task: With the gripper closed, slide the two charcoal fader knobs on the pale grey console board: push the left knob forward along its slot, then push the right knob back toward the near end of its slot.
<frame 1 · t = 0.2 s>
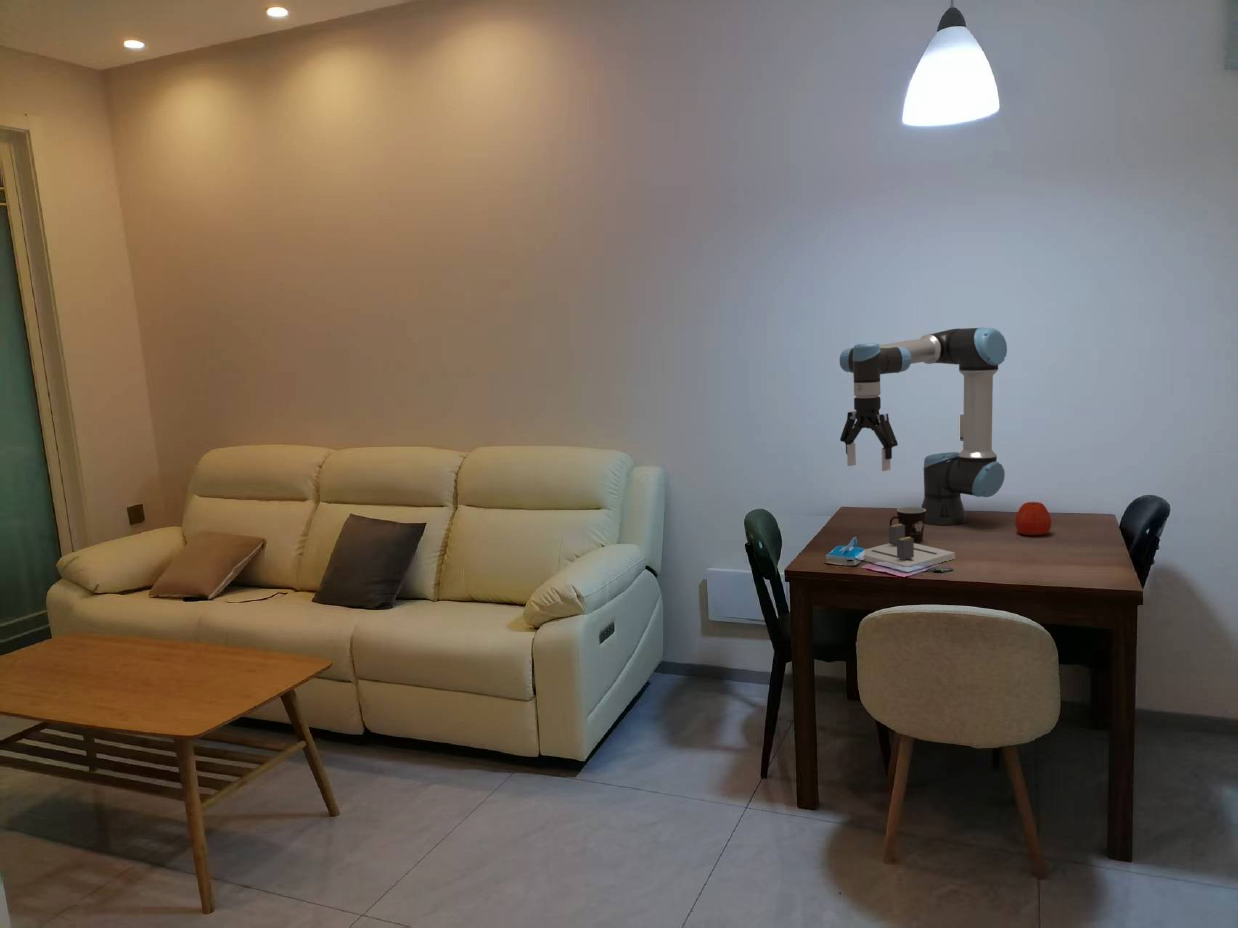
hand: (868, 467, 261), 27 cm above the table, fingers open, 13 cm apart
coffee mug: (906, 541, 277), on the table
fader B: (905, 547, 251), point 5 cm above the table, slide at 12.0 cm
apple: (1032, 534, 276), on the table
fader A: (896, 534, 266), point 5 cm above the table, slide at 0.0 cm
console: (903, 559, 258), on the table
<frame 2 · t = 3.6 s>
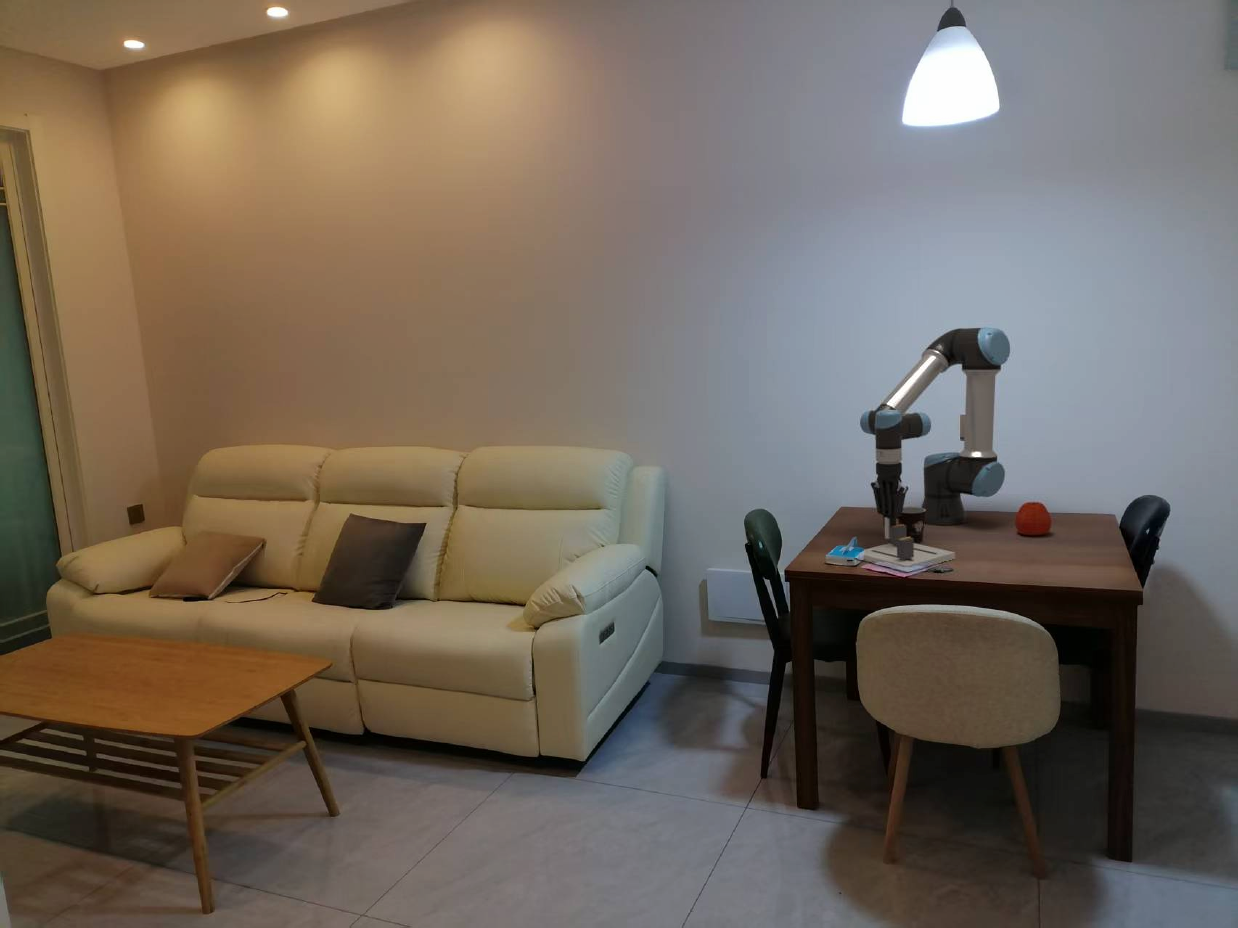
hand: (889, 537, 269), 4 cm above the table, fingers closed
fader A: (898, 534, 265), point 5 cm above the table, slide at 0.6 cm, touching gripper
everything else where it was.
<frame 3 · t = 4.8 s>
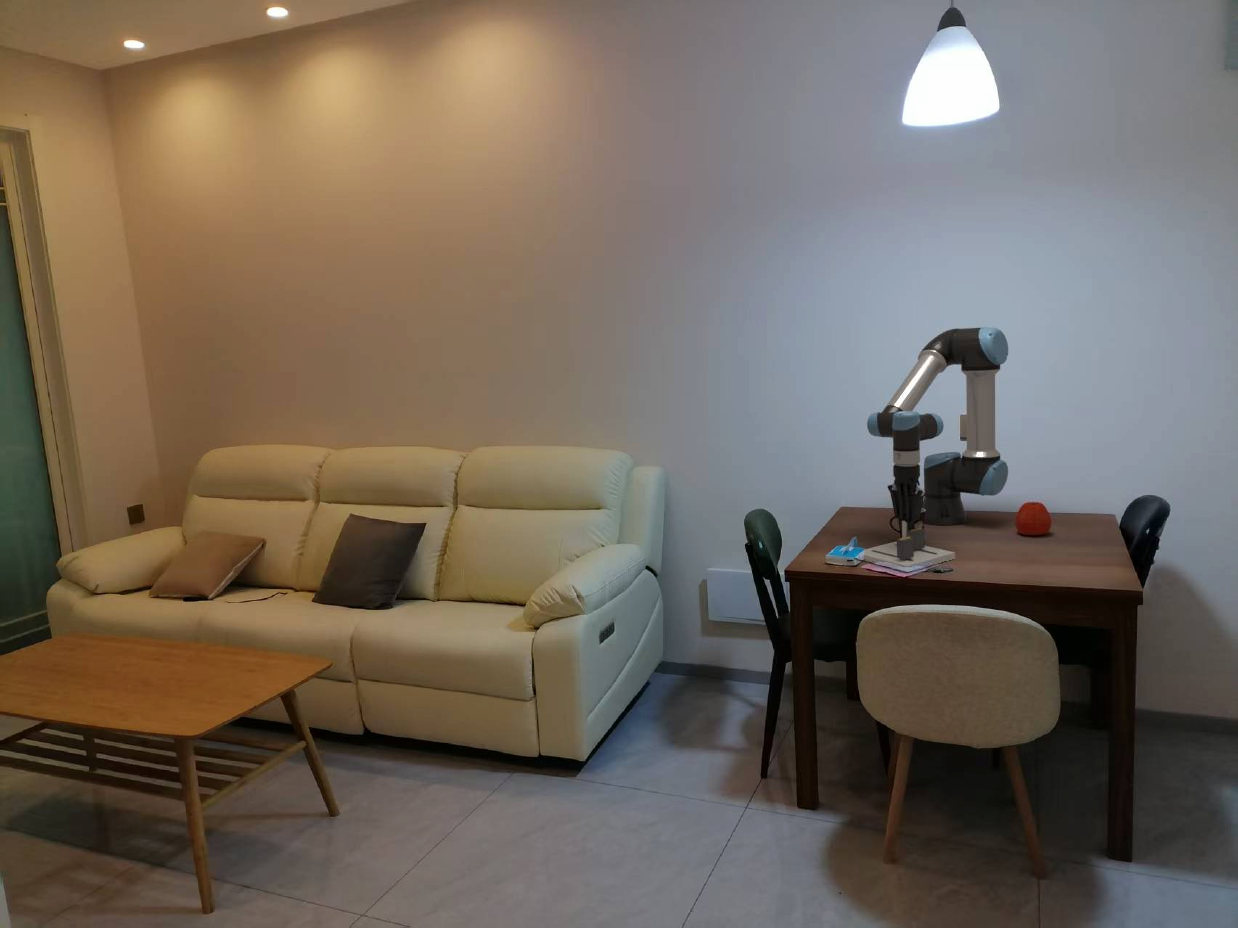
hand: (907, 541, 263), 4 cm above the table, fingers closed
fader A: (916, 538, 260), point 5 cm above the table, slide at 7.4 cm, touching gripper
everything else where it was.
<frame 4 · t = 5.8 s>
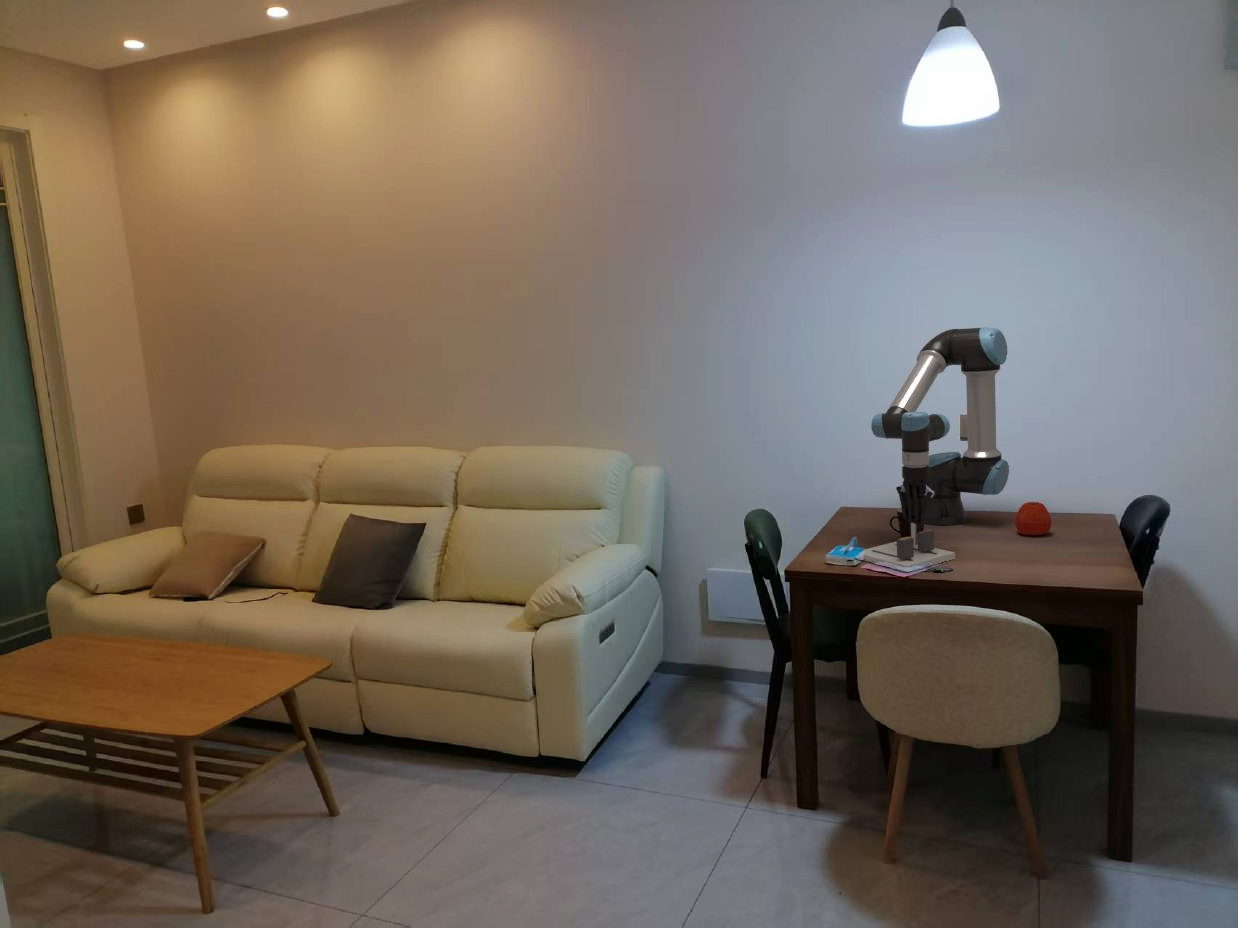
hand: (916, 543, 260), 4 cm above the table, fingers closed
fader A: (925, 540, 257), point 5 cm above the table, slide at 10.8 cm, touching gripper
everything else where it was.
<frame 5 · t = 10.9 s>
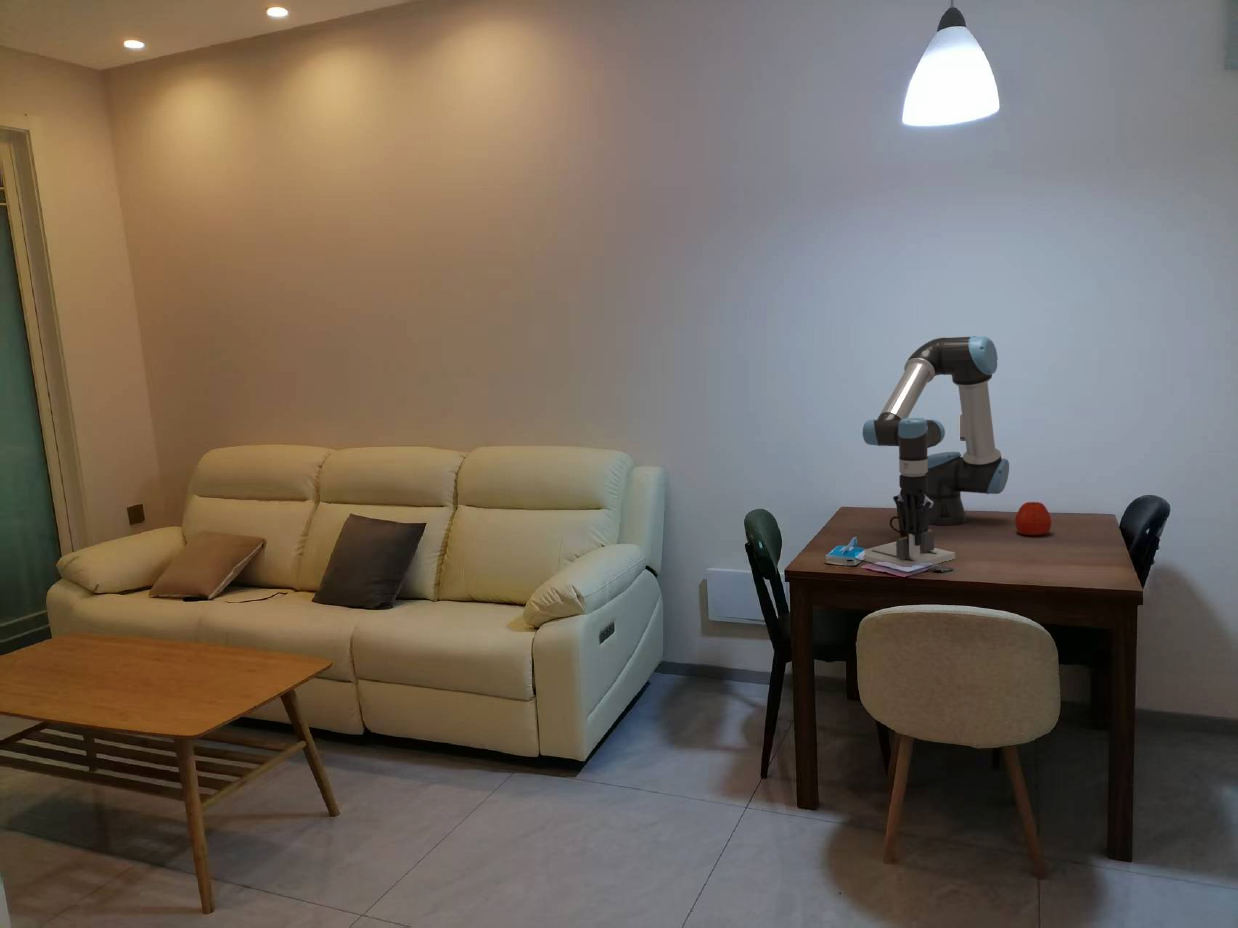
hand: (914, 555, 248), 4 cm above the table, fingers closed
fader B: (904, 547, 251), point 5 cm above the table, slide at 11.8 cm, touching gripper
fader A: (925, 540, 257), point 5 cm above the table, slide at 10.8 cm
everything else where it was.
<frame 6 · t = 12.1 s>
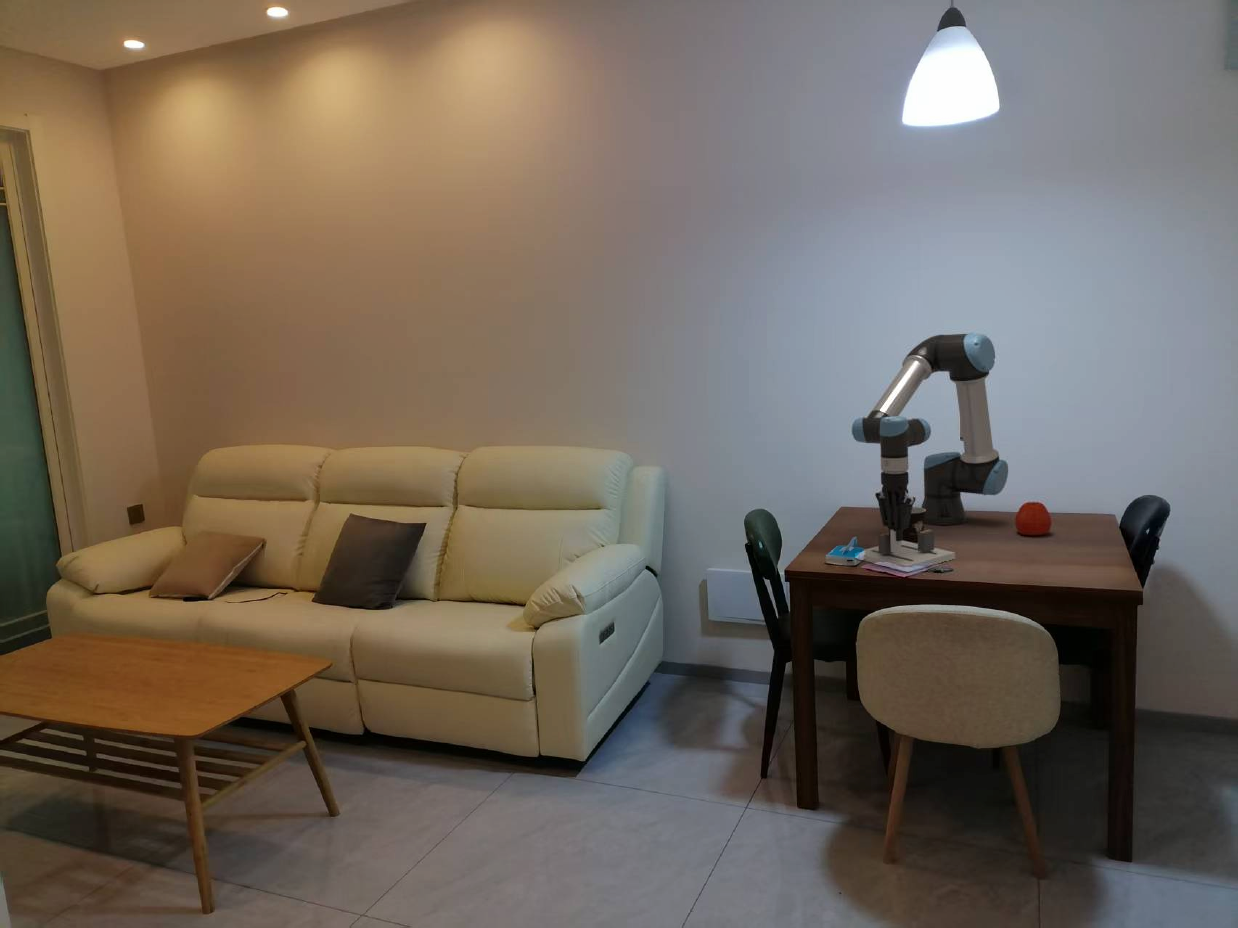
hand: (896, 551, 254), 4 cm above the table, fingers closed
fader B: (886, 543, 257), point 5 cm above the table, slide at 5.0 cm, touching gripper
everything else where it was.
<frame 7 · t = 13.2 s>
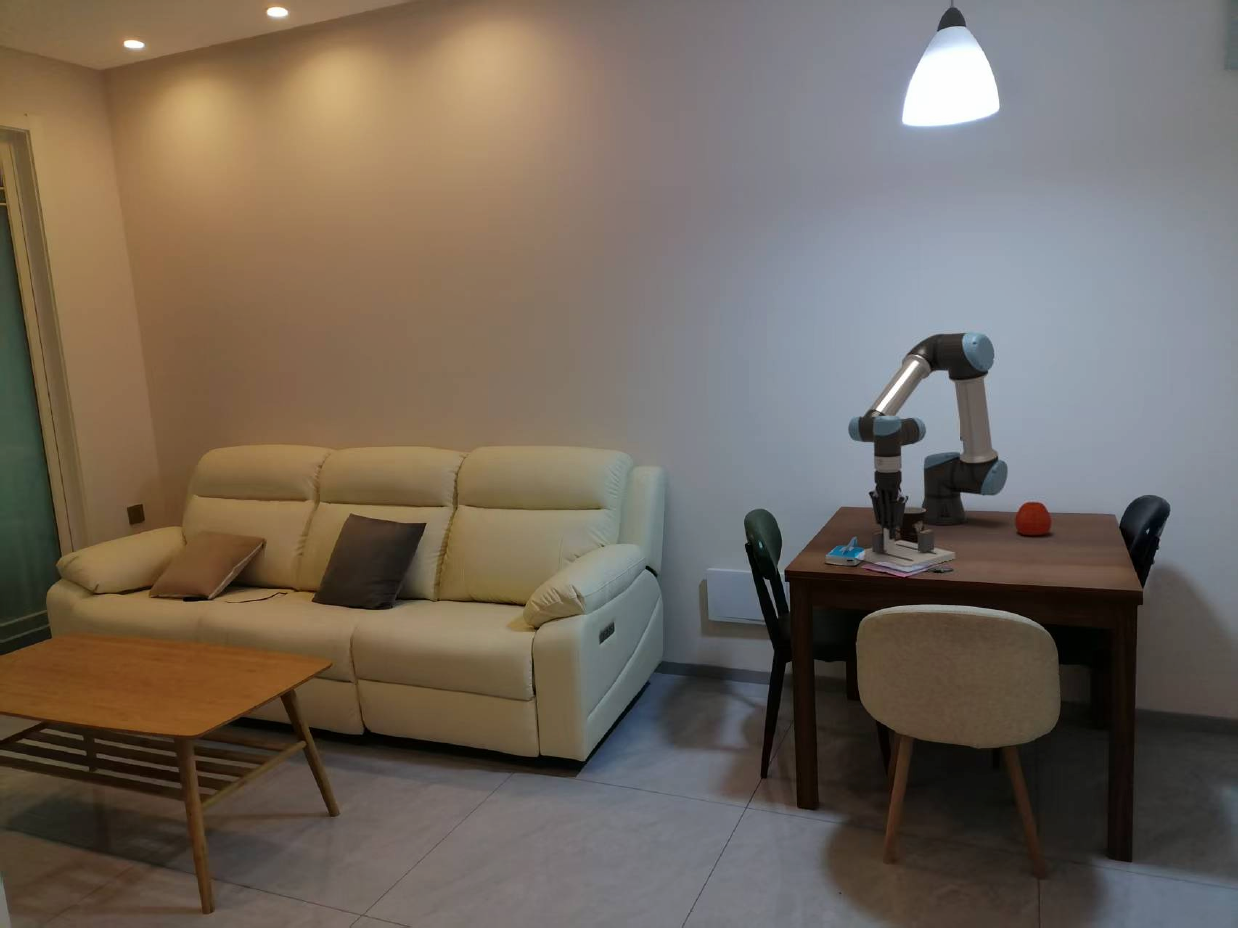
hand: (889, 549, 256), 4 cm above the table, fingers closed
fader B: (880, 541, 259), point 5 cm above the table, slide at 2.7 cm, touching gripper
everything else where it was.
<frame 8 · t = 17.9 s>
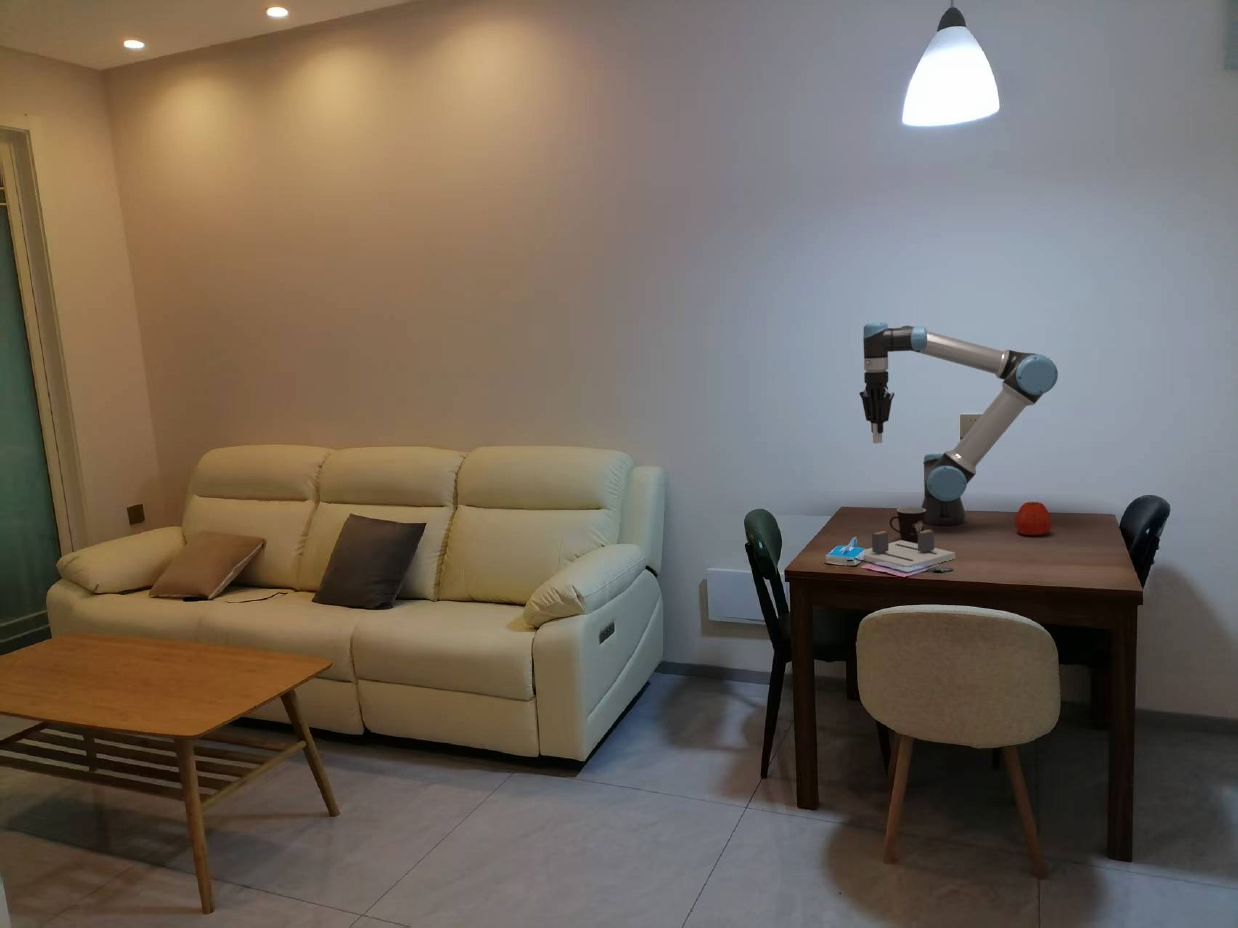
hand: (877, 442, 289), 29 cm above the table, fingers closed
fader B: (880, 541, 259), point 5 cm above the table, slide at 2.7 cm
everything else where it was.
at the end: fader A slide at 10.8 cm; fader B slide at 2.7 cm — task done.
